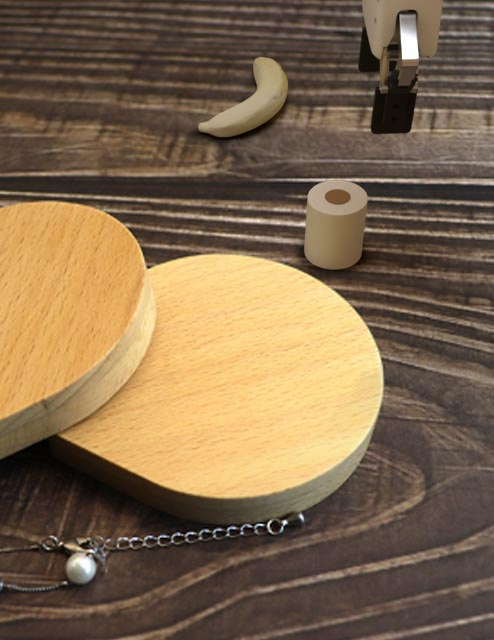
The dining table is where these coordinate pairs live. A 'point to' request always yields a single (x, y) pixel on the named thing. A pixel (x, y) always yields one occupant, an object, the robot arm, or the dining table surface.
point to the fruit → (252, 102)
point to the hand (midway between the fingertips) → (383, 99)
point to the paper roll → (335, 224)
